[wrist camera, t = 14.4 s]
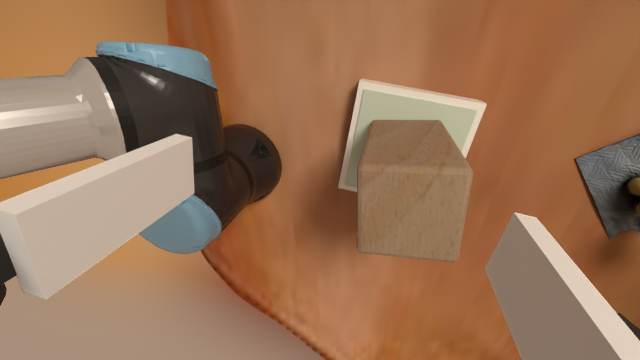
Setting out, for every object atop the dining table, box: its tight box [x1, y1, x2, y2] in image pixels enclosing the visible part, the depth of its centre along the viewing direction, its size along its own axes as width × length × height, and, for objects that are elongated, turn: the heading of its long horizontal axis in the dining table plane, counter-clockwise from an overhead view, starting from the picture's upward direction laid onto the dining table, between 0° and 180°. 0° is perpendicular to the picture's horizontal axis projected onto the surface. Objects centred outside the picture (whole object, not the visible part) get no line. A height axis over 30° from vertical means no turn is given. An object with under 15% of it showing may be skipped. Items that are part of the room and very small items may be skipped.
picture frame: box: [338, 79, 487, 192], centre depth 47 cm, size 18×18×4 cm
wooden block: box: [357, 120, 473, 263], centre depth 37 cm, size 10×10×20 cm
